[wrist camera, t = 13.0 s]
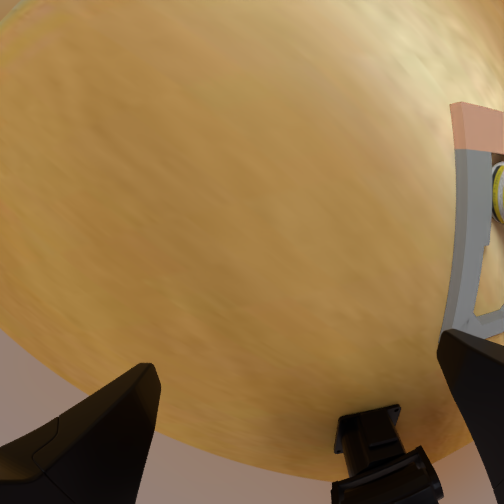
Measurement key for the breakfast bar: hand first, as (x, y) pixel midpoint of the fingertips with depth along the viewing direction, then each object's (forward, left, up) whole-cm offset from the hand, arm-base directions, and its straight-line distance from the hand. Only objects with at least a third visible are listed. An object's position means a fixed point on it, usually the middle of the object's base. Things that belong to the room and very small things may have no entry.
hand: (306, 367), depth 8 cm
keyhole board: (0, -20, -12) cm, 23 cm away
